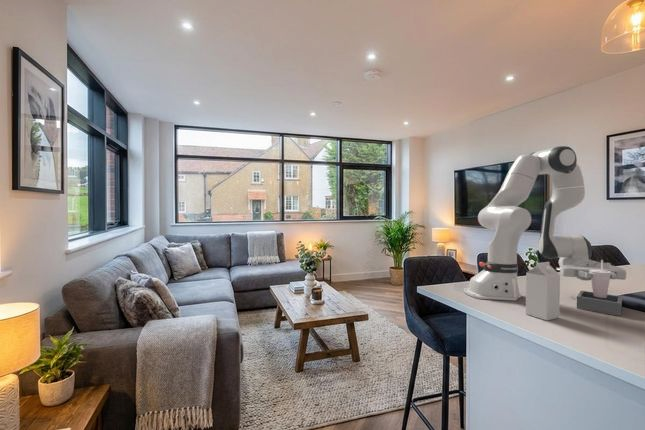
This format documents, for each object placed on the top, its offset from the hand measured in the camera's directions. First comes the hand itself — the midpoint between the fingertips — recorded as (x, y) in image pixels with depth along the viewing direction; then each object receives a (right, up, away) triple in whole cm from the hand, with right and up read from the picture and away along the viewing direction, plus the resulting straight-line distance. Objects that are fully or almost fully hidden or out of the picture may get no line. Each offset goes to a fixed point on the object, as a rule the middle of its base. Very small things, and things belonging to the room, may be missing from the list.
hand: (601, 276), depth 115 cm
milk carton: (-28, -13, -7) cm, 31 cm away
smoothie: (0, -8, +1) cm, 8 cm away
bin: (0, -12, +1) cm, 12 cm away
